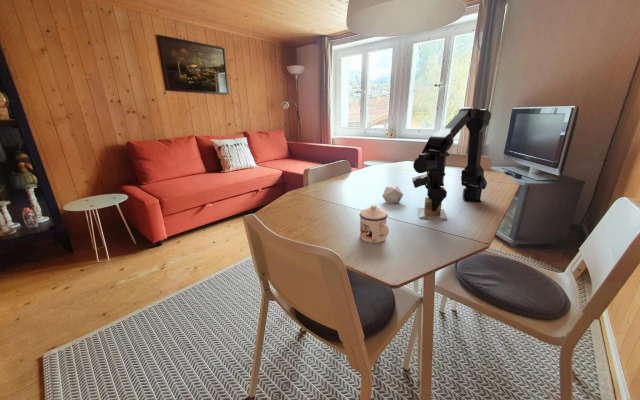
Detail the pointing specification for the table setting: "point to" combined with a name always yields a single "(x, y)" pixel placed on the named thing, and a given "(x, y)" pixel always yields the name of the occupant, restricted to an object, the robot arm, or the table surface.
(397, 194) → the die
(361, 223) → the teacup with lid
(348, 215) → the table surface
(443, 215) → the coaster
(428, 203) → the walnut cube
